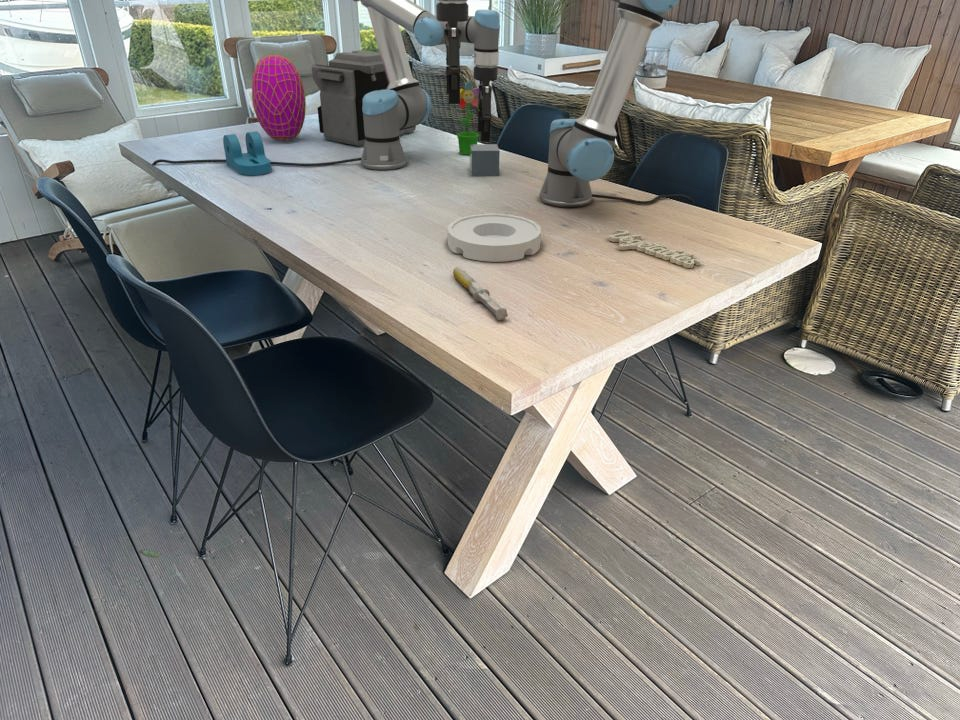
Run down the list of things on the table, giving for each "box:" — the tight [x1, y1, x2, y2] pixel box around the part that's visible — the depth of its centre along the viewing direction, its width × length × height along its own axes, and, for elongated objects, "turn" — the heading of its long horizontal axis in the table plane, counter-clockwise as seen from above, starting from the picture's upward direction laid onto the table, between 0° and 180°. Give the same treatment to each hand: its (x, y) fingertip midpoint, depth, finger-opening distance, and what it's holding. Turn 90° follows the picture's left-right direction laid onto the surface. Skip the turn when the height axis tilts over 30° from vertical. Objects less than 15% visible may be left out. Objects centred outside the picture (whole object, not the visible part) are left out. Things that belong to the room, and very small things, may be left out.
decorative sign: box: [609, 229, 701, 269], centre depth 168 cm, size 26×1×10 cm
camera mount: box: [222, 131, 272, 176], centre depth 226 cm, size 18×10×10 cm, turn 35°
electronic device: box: [311, 49, 417, 147], centre depth 265 cm, size 37×22×30 cm, turn 144°
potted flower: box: [456, 80, 480, 156], centre depth 244 cm, size 9×8×25 cm
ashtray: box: [447, 213, 542, 263], centre depth 170 cm, size 23×23×4 cm
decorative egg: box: [251, 54, 307, 142], centre depth 257 cm, size 19×19×30 cm
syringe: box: [452, 266, 509, 321], centre depth 145 cm, size 25×4×3 cm, turn 21°
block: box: [469, 143, 501, 177], centre depth 227 cm, size 9×9×8 cm
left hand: (483, 136), depth 223 cm, fingers open, 13 cm apart
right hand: (453, 98), depth 170 cm, fingers open, 13 cm apart
